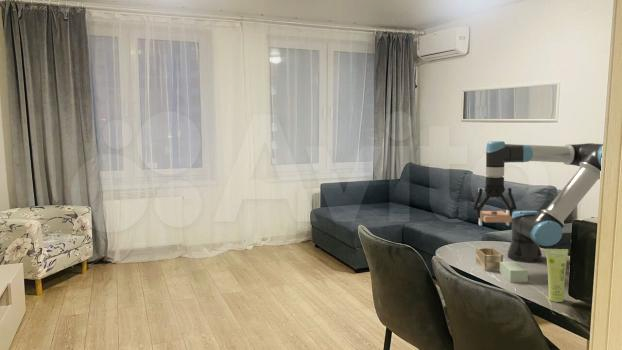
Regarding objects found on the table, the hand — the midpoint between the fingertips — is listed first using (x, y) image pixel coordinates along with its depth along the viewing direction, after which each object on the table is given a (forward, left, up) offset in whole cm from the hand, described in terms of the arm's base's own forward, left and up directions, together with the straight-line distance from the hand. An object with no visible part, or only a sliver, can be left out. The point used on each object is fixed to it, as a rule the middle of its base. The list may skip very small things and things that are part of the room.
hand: (493, 225), depth 203 cm
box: (+1, -4, -20) cm, 21 cm away
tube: (-10, +37, -20) cm, 43 cm away
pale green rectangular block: (-4, +11, -20) cm, 24 cm away
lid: (0, 0, +3) cm, 3 cm away
